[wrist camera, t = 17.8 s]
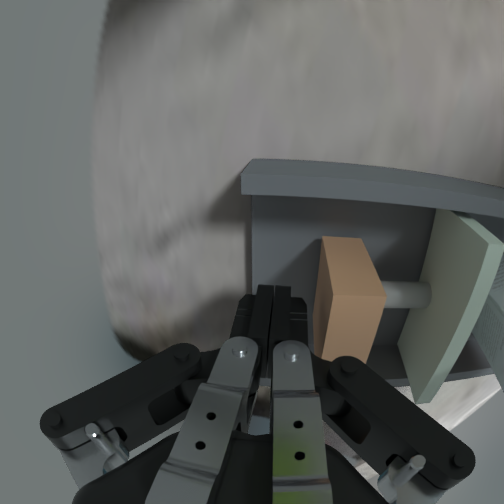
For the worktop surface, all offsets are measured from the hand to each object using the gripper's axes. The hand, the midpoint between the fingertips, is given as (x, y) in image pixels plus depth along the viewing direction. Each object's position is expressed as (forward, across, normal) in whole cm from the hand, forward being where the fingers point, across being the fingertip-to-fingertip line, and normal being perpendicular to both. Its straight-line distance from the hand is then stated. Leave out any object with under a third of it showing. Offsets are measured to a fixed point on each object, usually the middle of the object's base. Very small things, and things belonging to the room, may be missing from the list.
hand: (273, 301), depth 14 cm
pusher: (+2, -6, 0) cm, 6 cm away
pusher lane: (+3, -10, 0) cm, 10 cm away
